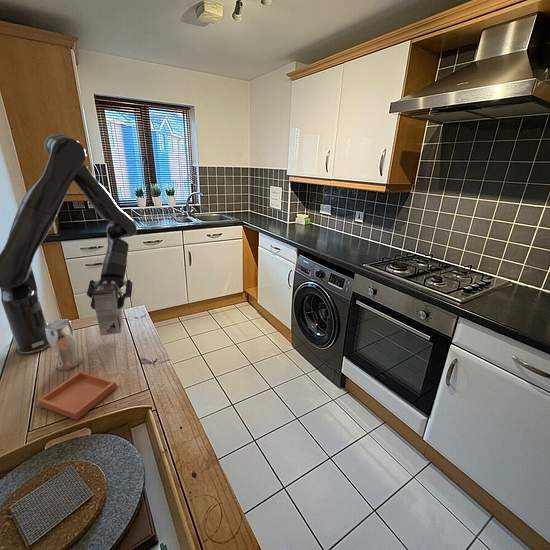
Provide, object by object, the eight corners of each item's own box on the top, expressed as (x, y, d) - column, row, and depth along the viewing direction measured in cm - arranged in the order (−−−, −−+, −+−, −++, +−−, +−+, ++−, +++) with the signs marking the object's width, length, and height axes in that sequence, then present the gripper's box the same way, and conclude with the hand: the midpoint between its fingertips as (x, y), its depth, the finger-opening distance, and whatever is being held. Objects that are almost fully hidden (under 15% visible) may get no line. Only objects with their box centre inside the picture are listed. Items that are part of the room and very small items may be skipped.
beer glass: (68, 372, 91) (57, 331, 85) (50, 369, 92) (37, 328, 87) (86, 359, 97) (76, 320, 92) (68, 356, 98) (58, 317, 93)
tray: (39, 406, 78) (37, 400, 77) (82, 376, 89) (80, 370, 89) (77, 420, 74) (75, 414, 73) (116, 387, 85) (115, 381, 85)
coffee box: (104, 323, 107) (96, 283, 102) (123, 320, 110) (116, 281, 104) (100, 336, 100) (91, 293, 94) (121, 333, 102) (113, 291, 96)
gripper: (89, 261, 103) (79, 305, 96) (131, 261, 104) (124, 304, 98) (98, 270, 110) (89, 312, 103) (138, 270, 111) (132, 311, 104)
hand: (106, 308), depth 100 cm, fingers closed on coffee box, 7 cm apart
